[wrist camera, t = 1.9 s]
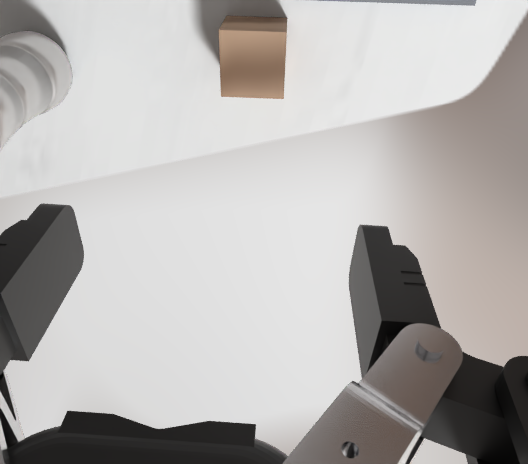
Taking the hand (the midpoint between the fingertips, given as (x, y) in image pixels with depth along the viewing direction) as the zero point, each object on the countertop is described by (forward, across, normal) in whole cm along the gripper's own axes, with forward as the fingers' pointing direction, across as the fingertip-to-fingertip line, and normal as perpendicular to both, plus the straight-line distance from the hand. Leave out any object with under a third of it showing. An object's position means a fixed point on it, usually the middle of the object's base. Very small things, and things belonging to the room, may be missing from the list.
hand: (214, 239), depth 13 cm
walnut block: (+30, +1, +3) cm, 31 cm away
